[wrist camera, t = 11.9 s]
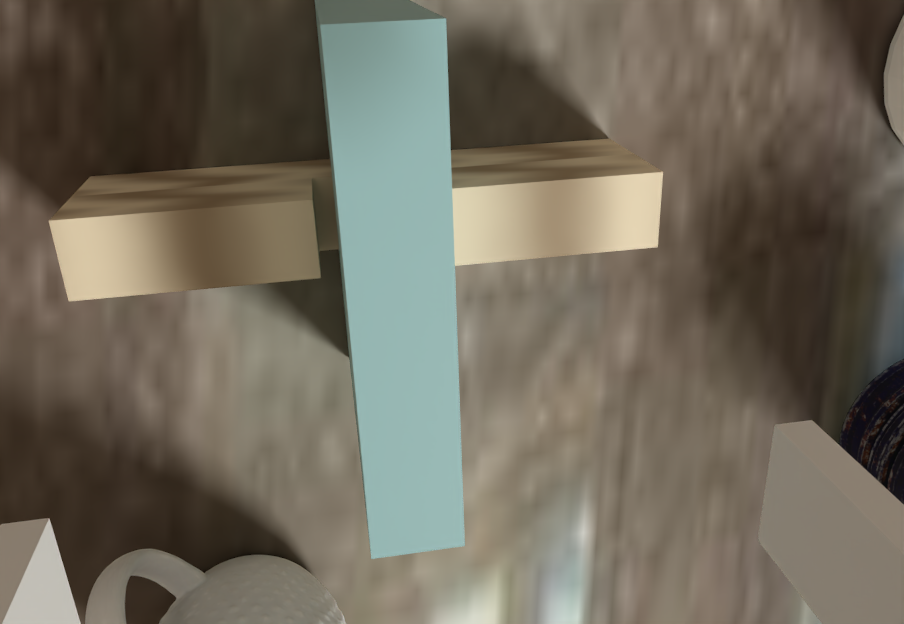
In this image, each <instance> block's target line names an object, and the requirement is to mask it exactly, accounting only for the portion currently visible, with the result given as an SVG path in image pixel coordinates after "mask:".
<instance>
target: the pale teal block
mask: <svg viewBox="0 0 904 624" xmlns="http://www.w3.org/2000/svg"><path fill="white" fill-rule="evenodd" d="M314 1H315V11H316V21H317V31H318V42H319V52H320V62H321V73H322V83H323V93H324V103H325V114H326V124H327V134H328V144H329V153H330V161H331V171H332V181H333V191H334V202H335V212H336V222H337V232H338V243H339V257H340V268H341V278H342V288H343V299H344V309H345V319H346V329H347V340H348V350H349V360H350V369H351V378H352V387H353V396H354V405H355V414H356V424H357V433H358V442H359V451H360V460H361V469H362V478H363V487H364V496H365V505H366V514H367V523H368V533H369V542H370V551H371V559H374V558H382V557H389V556H396V555H403V554H410V553H417V552H425V551H432V550H439V549H446V548H453V547H461V546H465V539H464V511H463V482H462V454H461V426H460V398H459V369H458V341H457V313H456V285H455V257H454V228H453V200H452V172H451V144H450V115H449V87H448V59H447V31H446V18H444V17H442V16H440V15H438V14H436V13H434V12H432V11H430V10H428V9H426V8H424V7H422V6H420V5H418V4H416V3H414V2H412V1H410V0H314Z"/></svg>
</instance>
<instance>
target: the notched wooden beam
mask: <svg viewBox="0 0 904 624" xmlns="http://www.w3.org/2000/svg"><path fill="white" fill-rule="evenodd" d="M451 172H452V200H453V228H454V257H455V266H458V265H468V264H479V263H490V262H501V261H512V260H523V259H533V258H544V257H555V256H566V255H577V254H588V253H598V252H609V251H620V250H631V249H642V248H653V247H658V234H659V220H660V207H661V193H662V179H663V172H662V171H661V170H659V169H657V168H656V167H654V166H653V165H651V164H649V163H648V162H646V161H645V160H643V159H641V158H640V157H638V156H637V155H635V154H633V153H632V152H630V151H629V150H627V149H625V148H624V147H622V146H620V145H619V144H617V143H616V142H614V141H612V140H611V139H597V140H583V141H569V142H556V143H542V144H528V145H514V146H501V147H487V148H473V149H459V150H451ZM49 224H50V228H51V232H52V236H53V240H54V244H55V248H56V252H57V256H58V260H59V264H60V268H61V272H62V276H63V280H64V284H65V288H66V292H67V296H68V300H69V301H78V300H89V299H100V298H111V297H122V296H132V295H143V294H154V293H165V292H176V291H187V290H197V289H208V288H219V287H230V286H241V285H252V284H262V283H273V282H284V281H295V280H306V279H317V278H321V270H320V251H326V250H337V249H339V243H338V232H337V222H336V212H335V202H334V191H333V181H332V171H331V161H330V159H322V160H308V161H295V162H281V163H267V164H254V165H240V166H226V167H212V168H199V169H185V170H171V171H157V172H144V173H130V174H116V175H103V176H90V177H89V178H88V179H87V180H86V182H85V183H84V184H83V185H82V186H81V187H80V188H79V189H78V190H77V191H76V192H75V193H74V194H73V195H72V196H71V197H70V199H69V200H68V201H67V202H66V203H65V204H64V205H63V206H62V207H61V208H60V209H59V210H58V211H57V212H56V213H55V215H54V216H53V217H52V218H51V219H50V220H49Z"/></svg>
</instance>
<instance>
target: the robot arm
mask: <svg viewBox="0 0 904 624" xmlns="http://www.w3.org/2000/svg"><path fill="white" fill-rule="evenodd" d="M758 541H759V542H760V544H761V545H762V546H763V548H764V549H765V550H766V551H767V553H768V554H769V555H770V557H771V558H772V559H773V560H774V562H775V563H776V564H777V566H778V567H779V568H780V570H781V571H782V572H783V573H784V575H785V576H786V577H787V579H788V580H789V581H790V583H791V584H792V585H793V586H794V588H795V589H796V590H797V592H798V593H799V594H800V595H801V597H802V598H803V599H804V601H805V602H806V603H807V605H808V606H809V607H810V608H811V610H812V611H813V612H814V614H815V615H816V616H817V617H818V619H819V620H820V621H821V623H822V624H904V504H902V503H901V502H900V501H899V500H898V499H897V498H896V497H895V496H894V495H893V494H892V493H891V492H889V491H888V490H887V489H886V488H885V487H884V486H883V485H882V484H881V483H880V482H879V481H878V480H876V479H875V478H874V477H873V476H872V475H871V474H870V473H869V472H868V471H867V470H866V469H865V468H863V467H862V466H861V465H860V464H859V463H858V462H857V461H856V460H855V459H854V458H853V457H852V456H850V455H849V454H848V453H847V452H846V451H845V450H844V449H843V448H842V447H841V446H840V445H838V444H837V443H836V442H835V441H834V440H833V439H832V438H831V437H830V436H829V435H828V434H827V433H825V432H824V431H823V430H822V429H821V428H820V427H819V426H818V425H817V424H816V423H815V422H814V421H812V420H808V421H801V422H793V423H785V424H777V425H775V427H774V433H773V440H772V447H771V454H770V460H769V467H768V474H767V481H766V487H765V494H764V501H763V508H762V514H761V521H760V528H759V534H758ZM0 624H81V623H80V620H79V616H78V613H77V610H76V606H75V603H74V600H73V596H72V593H71V589H70V586H69V583H68V579H67V576H66V573H65V569H64V566H63V562H62V559H61V556H60V552H59V549H58V546H57V542H56V539H55V535H54V532H53V529H52V525H51V522H50V519H49V518H45V519H37V520H29V521H21V522H14V523H6V524H1V525H0Z"/></svg>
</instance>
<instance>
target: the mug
mask: <svg viewBox="0 0 904 624" xmlns="http://www.w3.org/2000/svg"><path fill="white" fill-rule="evenodd" d="M130 576H140V577H144V578H147V579H150V580H152V581H154V582H157V583H158V584H159V585H161V586H162V587H164V588H166V589H167V590H168V591H169V592H170V593H171V594H173V595H174V596H175V597H176V600H175V601H174V602H173V604H172V605H171V606H170V607H169V609H168V611H167V613H166V614H165V615H164V616H163V617H162V618H161V620H160V622H159V624H346V622H345V619H344V615H343V614H342V612H341V610H340V609H339V608H338V607H337V604H336V601H335V599H334V598H333V597H332V596H331V595H330V594H329V592H328V590H327V589H326V588H325V587H324V586H323V585H322V584H321V583H320V582H319V581H318V580H317V579H316V578H315V577H314V576H313V575H312V574H311V573H310V572H308V571H307V570H306V569H304V568H303V567H301V566H299V565H298V564H296V563H294V562H292V561H289V560H287V559H284V558H280V557H276V556H270V555H248V556H241V557H237V558H233V559H230V560H227V561H225V562H222V563H220V564H218V565H216V566H214V567H213V568H211V569H210V570H208V571H206V572H205V573H203V572H202V571H201V570H199V569H197V568H196V567H194V566H192V565H191V564H189V563H187V562H186V561H184V560H182V559H181V558H179V557H177V556H175V555H172V554H170V553H167V552H164V551H160V550H156V549H151V548H150V549H139V550H135V551H132V552H129V553H127V554H125V555H123V556H121V557H119V558H117V559H116V560H114V561H113V562H112V563H111V564H110V565H108V566H107V567H106V568H105V569H104V570H103V572H102V573H101V574H100V576H99V577H98V578H97V580H96V582H95V584H94V586H93V588H92V591H91V593H90V596H89V599H88V603H87V609H86V617H85V624H127V623H126V617H125V594H126V586H127V583H128V580H129V578H130Z"/></svg>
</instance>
